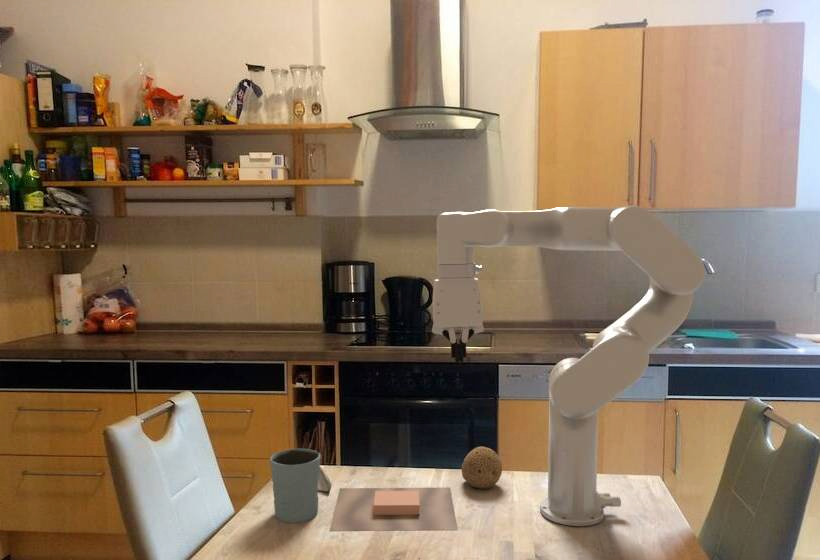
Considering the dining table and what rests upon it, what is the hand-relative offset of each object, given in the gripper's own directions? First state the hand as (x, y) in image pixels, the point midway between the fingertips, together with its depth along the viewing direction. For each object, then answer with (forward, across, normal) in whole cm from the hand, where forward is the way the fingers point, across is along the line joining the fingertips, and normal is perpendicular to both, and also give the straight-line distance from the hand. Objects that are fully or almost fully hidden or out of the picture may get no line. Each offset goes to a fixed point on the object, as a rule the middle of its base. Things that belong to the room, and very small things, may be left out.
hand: (458, 360), depth 132 cm
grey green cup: (+30, +34, +3) cm, 46 cm away
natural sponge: (+31, -5, -6) cm, 32 cm away
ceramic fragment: (+30, +31, -12) cm, 45 cm away
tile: (+28, +9, +5) cm, 30 cm away
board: (+30, +14, +4) cm, 34 cm away
